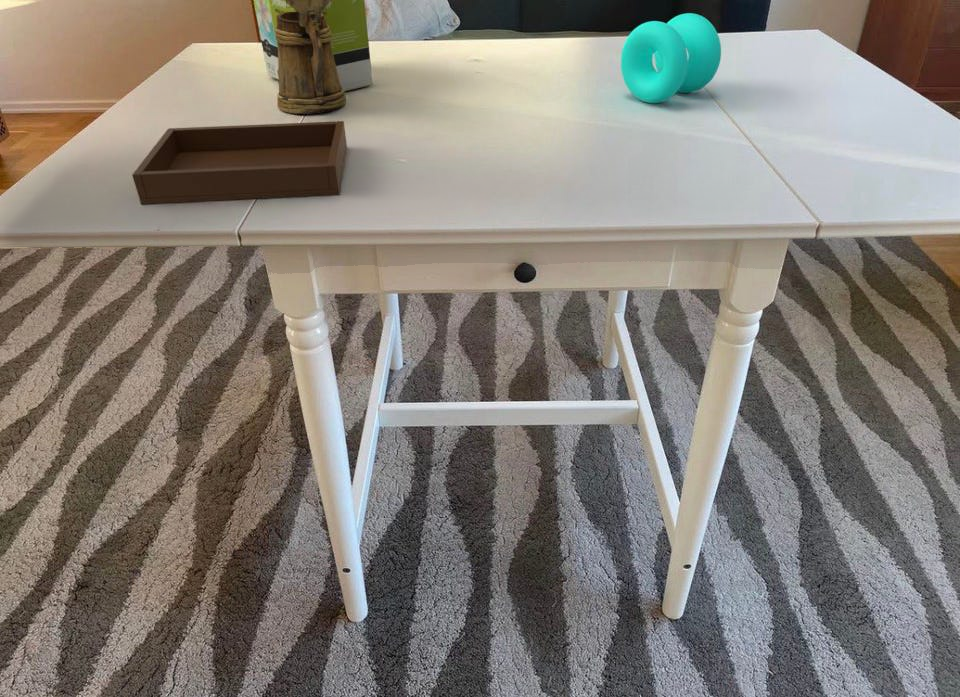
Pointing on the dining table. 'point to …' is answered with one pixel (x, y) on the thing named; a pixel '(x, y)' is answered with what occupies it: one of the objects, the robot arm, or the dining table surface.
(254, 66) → the dining table surface
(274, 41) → the tea box
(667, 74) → the donuts
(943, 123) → the dining table surface
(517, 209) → the dining table surface
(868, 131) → the dining table surface
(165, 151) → the serving tray
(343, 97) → the wooden mug
